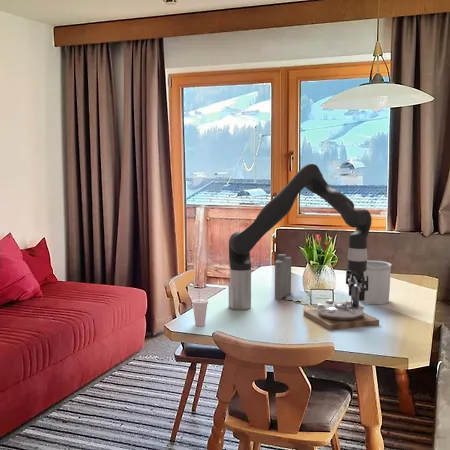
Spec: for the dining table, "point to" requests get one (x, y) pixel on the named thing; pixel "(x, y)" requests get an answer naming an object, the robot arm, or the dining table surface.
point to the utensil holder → (377, 282)
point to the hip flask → (282, 276)
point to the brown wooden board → (340, 321)
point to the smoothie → (200, 310)
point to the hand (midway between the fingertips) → (356, 298)
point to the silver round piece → (342, 308)
